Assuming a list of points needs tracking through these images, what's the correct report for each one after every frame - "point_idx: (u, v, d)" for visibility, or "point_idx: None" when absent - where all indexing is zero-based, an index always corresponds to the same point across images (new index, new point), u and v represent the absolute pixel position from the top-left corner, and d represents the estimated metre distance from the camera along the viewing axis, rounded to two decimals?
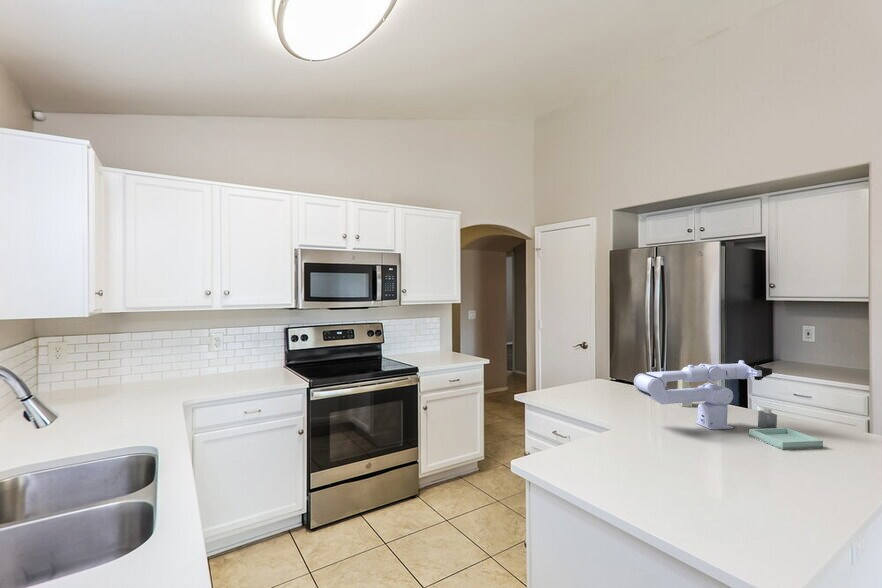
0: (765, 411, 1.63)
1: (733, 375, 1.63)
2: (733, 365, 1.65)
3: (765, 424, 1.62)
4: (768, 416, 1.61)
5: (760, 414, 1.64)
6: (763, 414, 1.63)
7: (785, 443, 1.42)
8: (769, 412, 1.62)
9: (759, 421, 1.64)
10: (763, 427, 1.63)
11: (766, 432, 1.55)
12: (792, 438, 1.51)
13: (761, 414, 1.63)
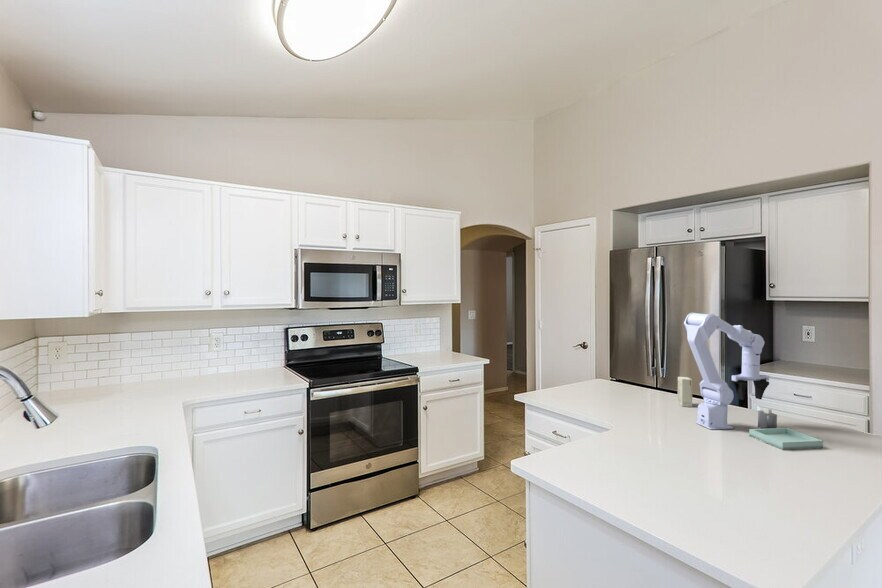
0: (765, 411, 1.63)
1: (755, 362, 1.67)
2: None
3: (765, 424, 1.62)
4: (768, 416, 1.61)
5: (760, 414, 1.64)
6: (763, 414, 1.63)
7: (785, 443, 1.42)
8: (769, 412, 1.62)
9: (759, 421, 1.64)
10: (763, 427, 1.63)
11: (766, 432, 1.55)
12: (792, 438, 1.51)
13: (761, 414, 1.63)
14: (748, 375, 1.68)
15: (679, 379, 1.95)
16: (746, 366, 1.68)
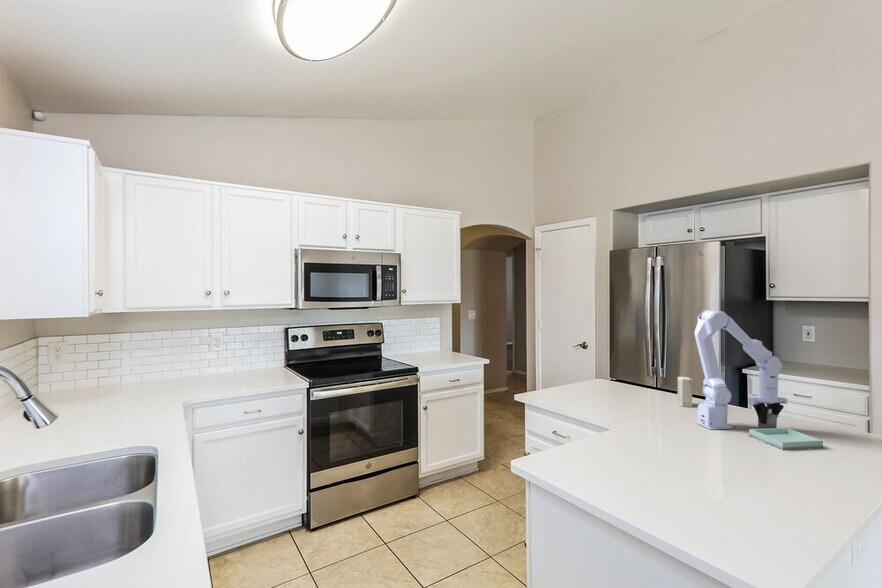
0: None
1: (769, 385, 1.60)
2: None
3: (765, 424, 1.62)
4: (768, 416, 1.61)
5: None
6: None
7: (785, 443, 1.42)
8: (769, 412, 1.62)
9: None
10: (763, 427, 1.63)
11: (766, 432, 1.55)
12: (792, 438, 1.51)
13: None
14: (766, 398, 1.61)
15: (679, 379, 1.95)
16: (764, 389, 1.61)
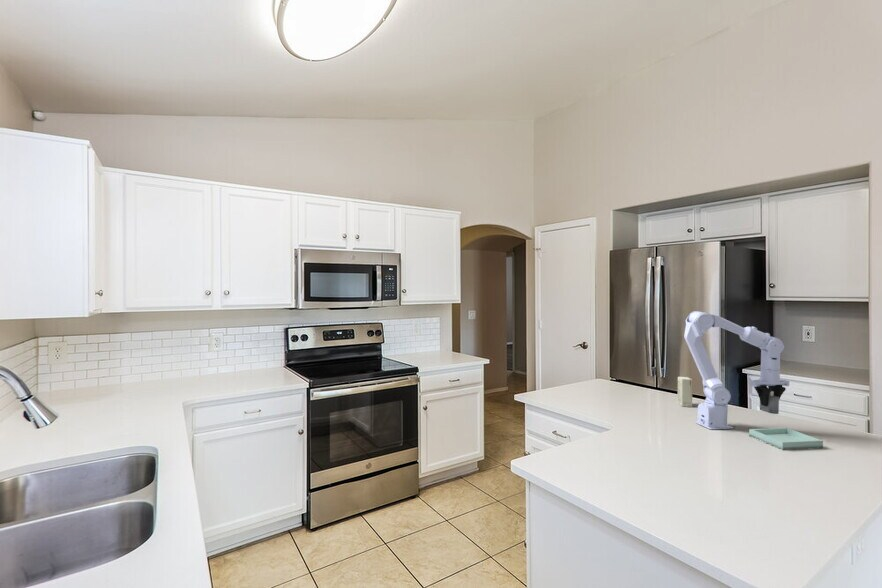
0: None
1: (771, 366, 1.59)
2: None
3: (767, 406, 1.60)
4: (770, 398, 1.59)
5: None
6: None
7: (785, 443, 1.42)
8: (771, 394, 1.60)
9: None
10: (765, 409, 1.61)
11: (766, 432, 1.55)
12: (792, 438, 1.51)
13: None
14: (768, 380, 1.59)
15: (679, 379, 1.95)
16: (766, 371, 1.60)
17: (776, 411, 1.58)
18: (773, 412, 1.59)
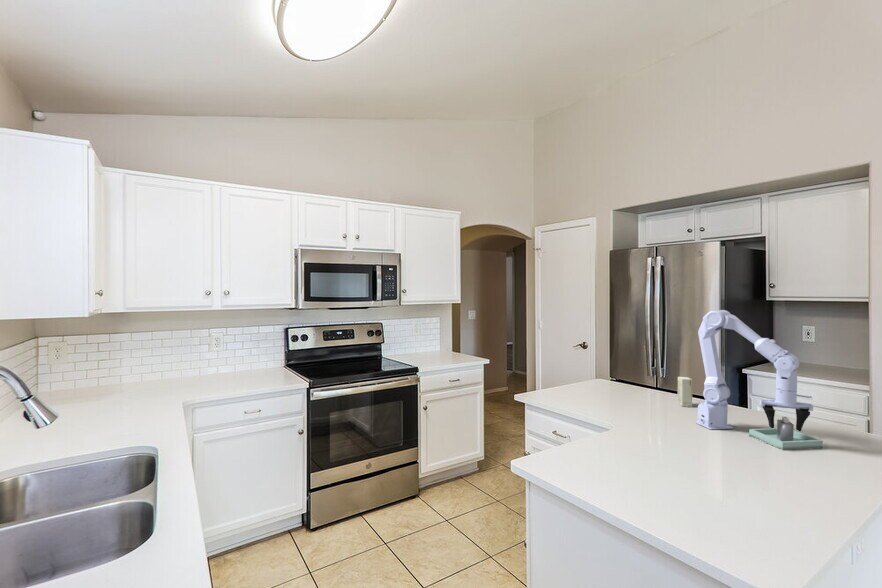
0: (782, 420, 1.50)
1: (780, 386, 1.48)
2: None
3: (780, 434, 1.49)
4: (781, 425, 1.48)
5: (777, 423, 1.51)
6: (779, 423, 1.50)
7: (785, 443, 1.42)
8: (785, 421, 1.48)
9: (777, 430, 1.51)
10: (779, 437, 1.50)
11: (766, 432, 1.55)
12: None
13: (778, 423, 1.51)
14: (779, 401, 1.48)
15: (679, 379, 1.95)
16: (777, 391, 1.49)
17: (788, 440, 1.46)
18: (784, 440, 1.47)
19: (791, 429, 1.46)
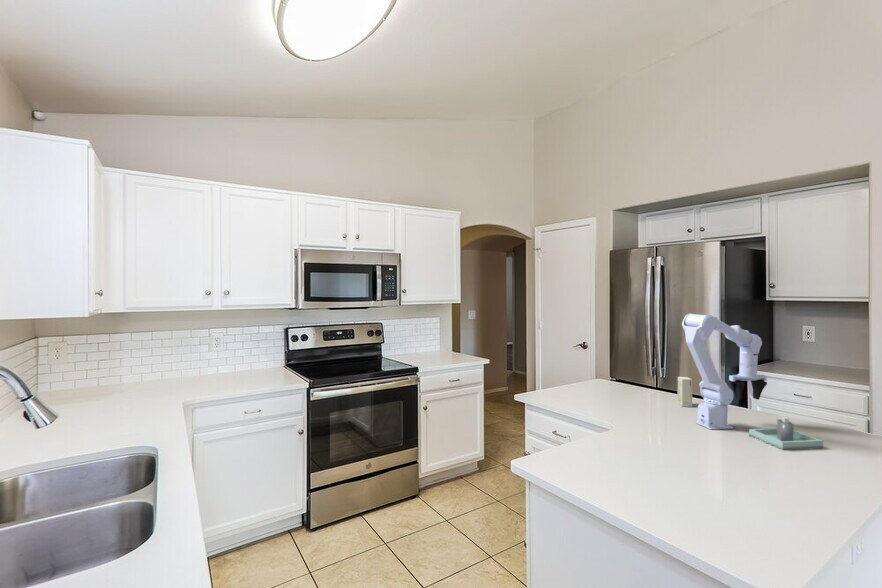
0: (782, 420, 1.50)
1: (753, 362, 1.66)
2: None
3: (780, 434, 1.49)
4: (781, 425, 1.48)
5: (777, 423, 1.51)
6: (779, 423, 1.50)
7: (785, 443, 1.42)
8: (785, 421, 1.48)
9: (777, 430, 1.51)
10: (779, 437, 1.50)
11: (766, 432, 1.55)
12: None
13: (778, 423, 1.51)
14: (746, 375, 1.67)
15: (679, 379, 1.95)
16: (744, 366, 1.68)
17: (788, 440, 1.46)
18: (784, 440, 1.47)
19: (791, 429, 1.46)
